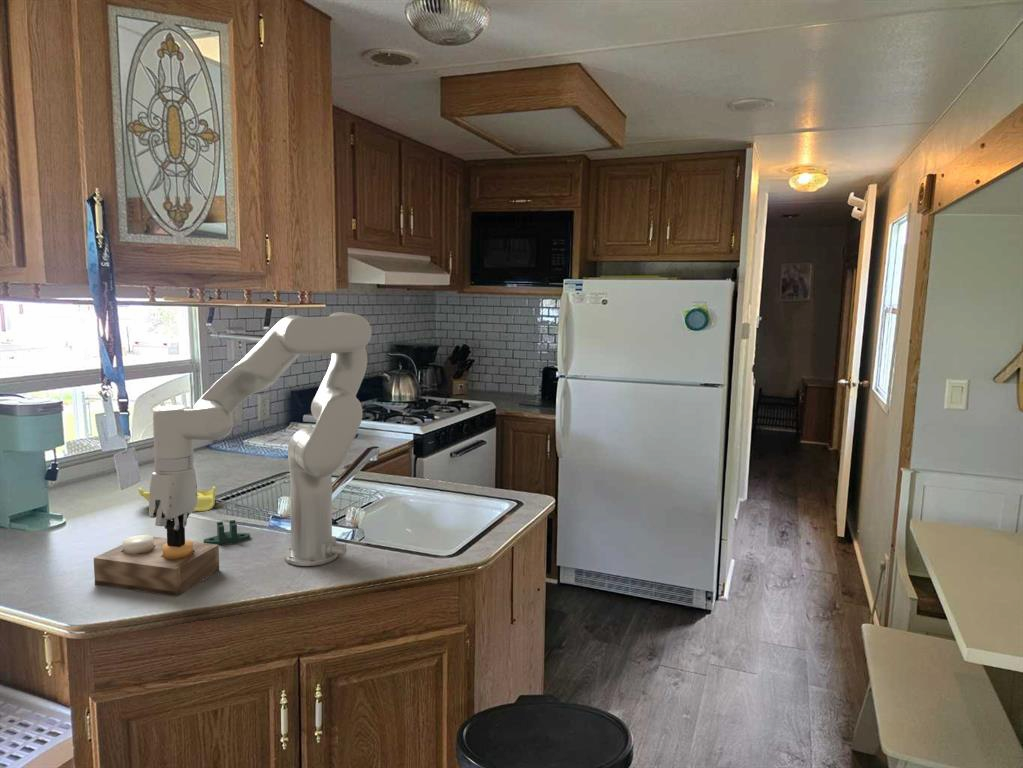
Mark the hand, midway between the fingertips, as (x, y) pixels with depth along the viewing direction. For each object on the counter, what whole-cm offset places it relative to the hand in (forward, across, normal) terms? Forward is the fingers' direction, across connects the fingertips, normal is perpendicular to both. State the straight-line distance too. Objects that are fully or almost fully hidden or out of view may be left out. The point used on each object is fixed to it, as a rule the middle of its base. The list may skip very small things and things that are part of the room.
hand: (176, 545), depth 146 cm
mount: (+8, -23, -4) cm, 25 cm away
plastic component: (+8, -42, -33) cm, 54 cm away
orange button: (+6, 0, 0) cm, 6 cm away
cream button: (+6, 0, -10) cm, 11 cm away
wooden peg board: (+8, 0, -5) cm, 9 cm away
